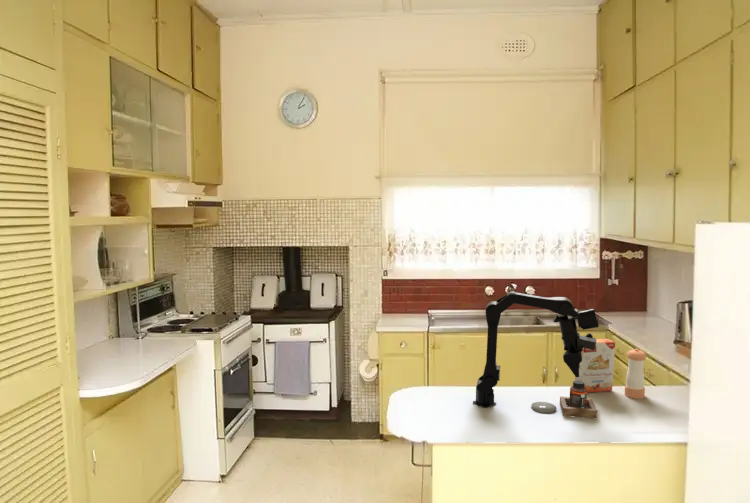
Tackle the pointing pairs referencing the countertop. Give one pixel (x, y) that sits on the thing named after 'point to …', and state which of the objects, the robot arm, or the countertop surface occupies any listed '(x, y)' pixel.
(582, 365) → the cracker box
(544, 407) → the grey round disc
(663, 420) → the countertop surface
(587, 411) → the walnut holder
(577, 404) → the supplement bottle
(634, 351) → the pepper shaker
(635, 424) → the countertop surface
